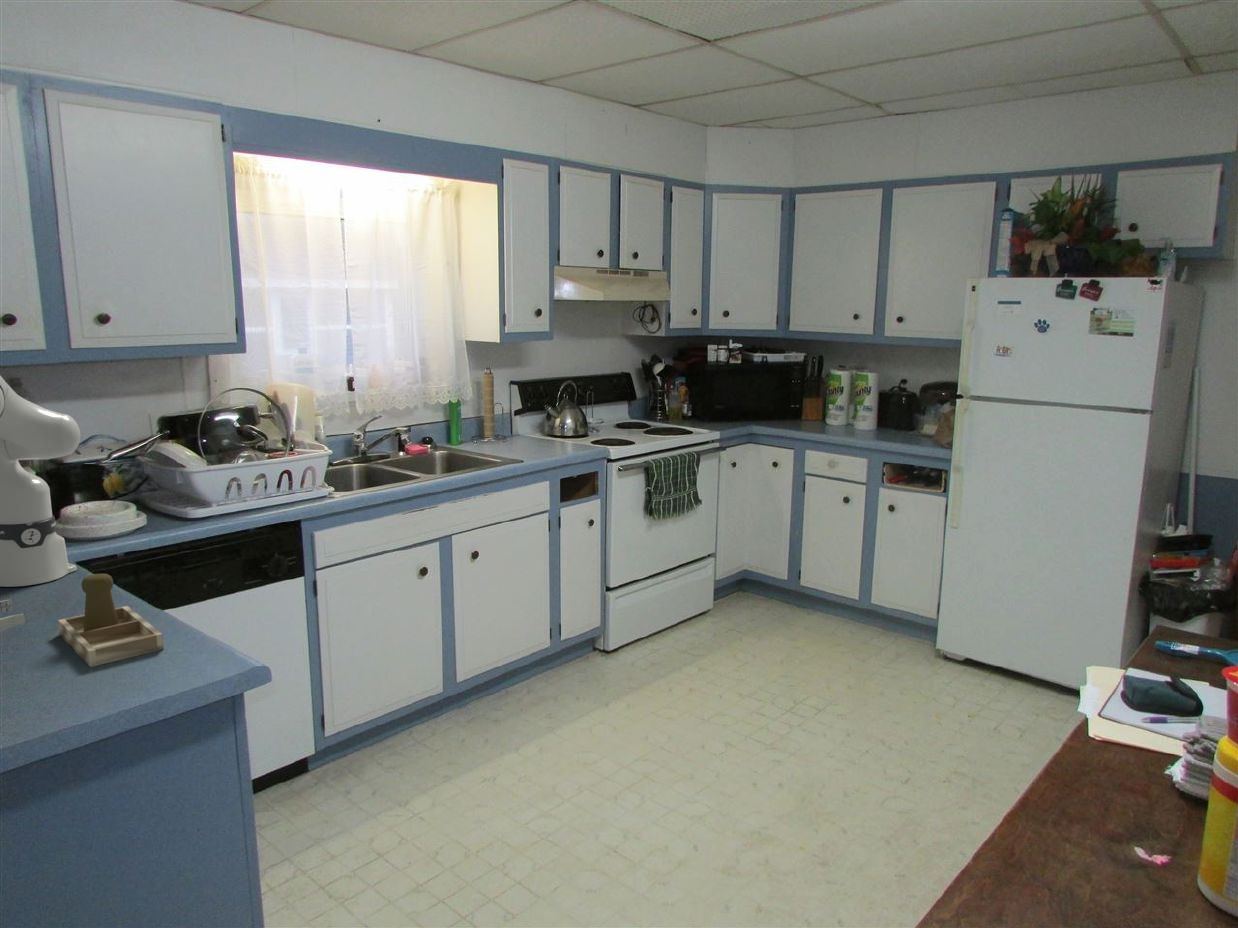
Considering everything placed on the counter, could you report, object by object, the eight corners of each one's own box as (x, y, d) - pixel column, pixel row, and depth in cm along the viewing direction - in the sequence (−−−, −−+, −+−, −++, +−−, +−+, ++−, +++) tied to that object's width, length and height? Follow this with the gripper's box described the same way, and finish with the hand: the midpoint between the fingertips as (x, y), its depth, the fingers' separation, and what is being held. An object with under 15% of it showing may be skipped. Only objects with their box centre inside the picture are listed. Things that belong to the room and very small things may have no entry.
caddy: (59, 634, 164) (58, 619, 164) (128, 619, 173) (126, 605, 172) (90, 667, 150) (88, 651, 149) (163, 649, 158) (162, 633, 158)
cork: (80, 628, 165) (75, 574, 163) (115, 621, 169) (110, 568, 167) (87, 637, 161) (82, 582, 159) (123, 629, 165) (118, 575, 163)
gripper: (-73, 628, 137) (29, 608, 146) (-90, 597, 151) (4, 581, 160) (-68, 665, 138) (33, 643, 147) (-86, 631, 152) (8, 613, 161)
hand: (18, 610), depth 154 cm, fingers open, 8 cm apart
